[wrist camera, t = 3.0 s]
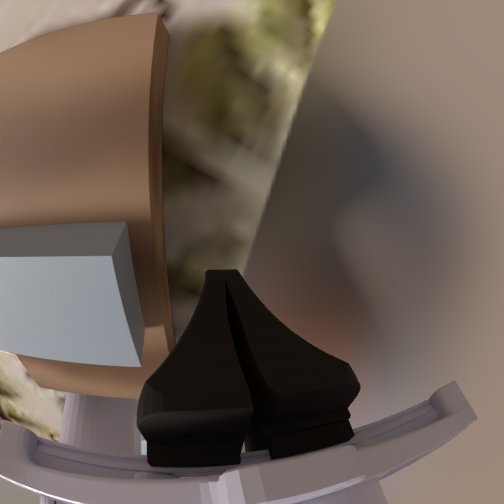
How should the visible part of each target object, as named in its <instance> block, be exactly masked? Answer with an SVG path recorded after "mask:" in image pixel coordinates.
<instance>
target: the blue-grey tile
mask: <svg viewBox="0 0 504 504" xmlns="http://www.w3.org/2000/svg"><path fill="white" fill-rule="evenodd" d="M144 335H145V324H144V320H143V315H142V311H141V306H140V301H139V296H138V291H137V286H136V280H135V275H134V269H133V263H132V256H131V249H130V242H129V235H128V227H127V221H122V222H95V223H72V224H54V225H37V226H22V227H9V228H0V350H1V351H6V352H10V353H15V354H21V355H26V356H32V357H38V358H44V359H51V360H58V361H66V362H75V363H85V364H96V365H109V366H128V367H141V364H142V354H143V344H144Z"/></svg>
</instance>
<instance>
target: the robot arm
mask: <svg viewBox="0 0 504 504" xmlns="http://www.w3.org/2000/svg"><path fill="white" fill-rule="evenodd" d="M359 391H360V383H359V381H358V380H357V377H356V375H355V373H354V372H353V370H352V368H351V367H350V365H349V364H348V363H347V362H345V361H342V360H340V359H338V358H336V357H334V356H332V355H329V354H327V353H325V352H324V351H322V350H320V349H318V348H317V347H315V346H313V345H312V344H310V343H308V342H307V341H305V340H304V339H302V338H301V337H299V336H298V335H297V334H295V333H294V332H292V331H291V330H290V329H289V328H287V327H286V326H285V325H284V324H283V323H282V322H281V321H279V320H278V319H277V318H276V317H275V316H274V315H273V314H272V313H271V312H270V311H269V310H268V309H267V308H266V307H265V305H264V304H263V303H262V302H261V301H260V300H259V298H258V297H257V296H256V295H255V294H254V292H253V291H252V290H251V289H250V287H249V286H248V285H247V283H246V282H245V280H244V279H243V277H242V276H241V274H240V273H239V271H238V270H237V269H234V270H208V271H206V272H205V283H204V287H203V291H202V294H201V297H200V300H199V302H198V305H197V307H196V309H195V312H194V314H193V316H192V318H191V320H190V322H189V324H188V326H187V328H186V330H185V332H184V333H183V335H182V336H181V338H180V340H179V341H178V343H177V344H176V346H175V347H174V349H173V350H172V351H171V353H170V354H169V355H168V356H167V358H166V359H165V360H164V362H163V363H162V364H161V365H160V366H159V368H158V369H157V370H156V371H155V372H154V373H153V374H152V375H151V376H150V377H149V378H148V379H147V380H146V381H145V383H144V386H143V388H142V391H141V394H140V397H139V399H128V398H114V397H103V396H93V395H85V394H78V393H71V392H67V397H66V402H65V407H64V412H63V418H62V424H61V430H60V437H59V442H55V441H51V440H47V439H44V438H40V437H37V435H36V434H35V433H34V432H32V431H31V430H30V429H28V428H26V427H24V426H21V425H18V424H15V423H12V422H9V421H6V420H3V422H2V426H1V431H0V477H2V478H4V479H6V480H7V481H9V482H11V483H13V484H15V485H17V486H20V487H22V488H24V489H26V490H28V491H31V492H33V493H36V494H38V495H40V504H388V503H387V501H386V498H385V495H384V493H383V490H382V488H381V485H380V483H379V480H381V479H383V478H385V477H387V476H389V475H391V474H393V473H395V472H397V471H399V470H401V469H403V468H405V467H407V466H409V465H411V464H412V463H414V462H416V461H418V460H419V459H421V458H423V457H425V456H426V455H428V454H430V453H431V452H433V451H434V450H436V449H438V448H439V447H440V446H442V445H444V444H445V443H447V442H448V441H450V440H451V439H452V438H454V437H455V436H457V435H458V434H459V433H461V432H462V431H463V430H464V429H466V428H467V427H468V426H469V425H471V424H472V423H473V422H474V421H476V420H477V416H476V414H475V413H474V411H473V409H472V407H471V406H470V404H469V402H468V400H467V399H466V397H465V395H464V394H463V392H462V391H461V389H460V387H459V386H458V384H457V383H456V381H452V382H451V383H449V384H447V385H445V386H443V387H441V388H440V389H438V390H437V391H436V392H434V394H432V396H431V397H430V398H429V399H428V400H426V401H424V402H422V403H419V404H417V405H415V406H413V407H411V408H408V409H406V410H404V411H401V412H399V413H397V414H394V415H392V416H389V417H386V418H384V419H381V420H379V421H376V422H373V423H370V424H368V425H365V426H362V427H358V428H355V429H352V427H351V425H350V422H349V420H348V419H349V418H350V416H351V415H350V412H349V410H348V407H349V406H350V404H351V403H352V402H353V401H354V399H355V398H356V396H357V395H358V393H359ZM141 434H142V435H143V437H144V438H145V440H146V441H147V455H141ZM243 442H244V443H245V450H246V452H245V453H241V450H242V446H243ZM194 476H195V477H194ZM198 476H203V477H198ZM180 477H193V478H180Z"/></svg>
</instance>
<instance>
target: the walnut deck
mask: <svg viewBox="0 0 504 504" xmlns="http://www.w3.org/2000/svg"><path fill="white" fill-rule="evenodd" d="M168 40H169V34H168V32H167V30H166V28H165V26H164V24H163V22H162V20H161V18H160V16H159V14H158V13H149V14H139V15H130V16H123V17H116V18H110V19H105V20H99V21H94V22H90V23H85V24H81V25H77V26H73V27H69V28H66V29H62V30H59V31H55V32H52V33H49V34H46V35H43V36H40V37H37V38H34V39H32V40H29V41H27V42H24V43H21V44H19V45H17V46H14V47H12V48H10V49H7V50H5V51H3V52H1V53H0V228H9V227H22V226H37V225H54V224H72V223H95V222H122V221H127V227H128V235H129V242H130V249H131V256H132V263H133V269H134V275H135V280H136V286H137V291H138V296H139V301H140V306H141V311H142V315H143V320H144V324H145V335H144V344H143V354H142V364H141V367H128V366H109V365H96V364H85V363H75V362H66V361H58V360H51V359H44V358H38V357H32V356H26V355H21V354H16V355H17V357H18V358H19V360H20V361H21V363H22V364H23V365H24V367H25V368H26V369H27V371H28V372H29V374H30V375H31V376H32V377H33V379H34V380H35V381H36V383H37V384H38V385H39V386H40V387H42V388H47V389H53V390H58V391H64V392H71V393H78V394H85V395H93V396H103V397H114V398H128V399H139V397H140V394H141V391H142V388H143V386H144V383H145V381H146V380H147V379H148V378H149V377H150V376H151V375H152V374H153V373H154V372H155V371H156V370H157V369H158V368H159V366H160V365H161V364H162V363H163V362H164V360H165V359H166V358H167V356H168V355H169V354H170V353H171V351H172V350H173V349H174V347H175V346H176V341H175V335H174V328H173V320H172V312H171V304H170V296H169V287H168V277H167V266H166V254H165V240H164V223H163V201H162V119H163V97H164V82H165V69H166V58H167V49H168Z"/></svg>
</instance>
